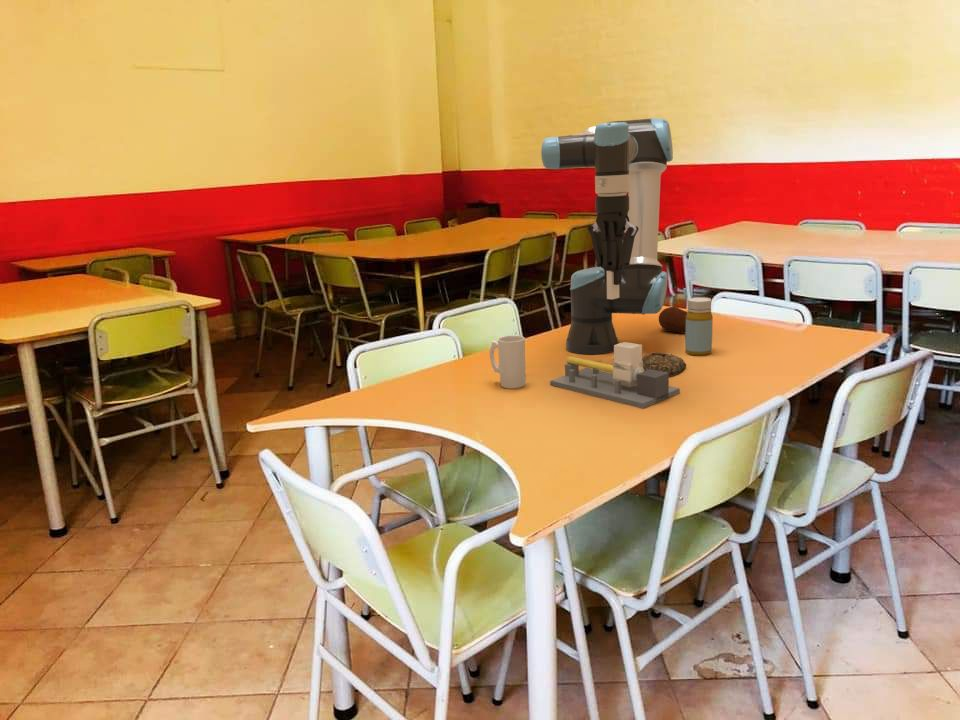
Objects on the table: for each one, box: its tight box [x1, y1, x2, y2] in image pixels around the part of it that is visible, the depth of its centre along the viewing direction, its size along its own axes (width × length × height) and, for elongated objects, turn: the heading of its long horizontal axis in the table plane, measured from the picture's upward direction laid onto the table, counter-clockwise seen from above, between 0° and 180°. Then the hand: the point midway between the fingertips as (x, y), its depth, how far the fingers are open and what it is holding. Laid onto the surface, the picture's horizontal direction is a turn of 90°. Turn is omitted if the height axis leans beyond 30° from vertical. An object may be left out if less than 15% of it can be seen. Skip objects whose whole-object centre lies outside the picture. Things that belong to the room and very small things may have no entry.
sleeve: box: [612, 341, 643, 387], centre depth 174 cm, size 5×5×9 cm
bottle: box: [684, 297, 714, 357], centre depth 204 cm, size 7×7×15 cm
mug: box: [489, 335, 527, 390], centre depth 186 cm, size 10×7×12 cm, turn 54°
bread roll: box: [642, 351, 687, 377], centre depth 192 cm, size 13×12×5 cm
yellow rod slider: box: [549, 355, 681, 410], centre depth 179 cm, size 28×14×7 cm, turn 42°
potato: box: [658, 306, 688, 334], centre depth 230 cm, size 8×12×8 cm, turn 50°
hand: (613, 298), depth 173 cm, fingers closed
